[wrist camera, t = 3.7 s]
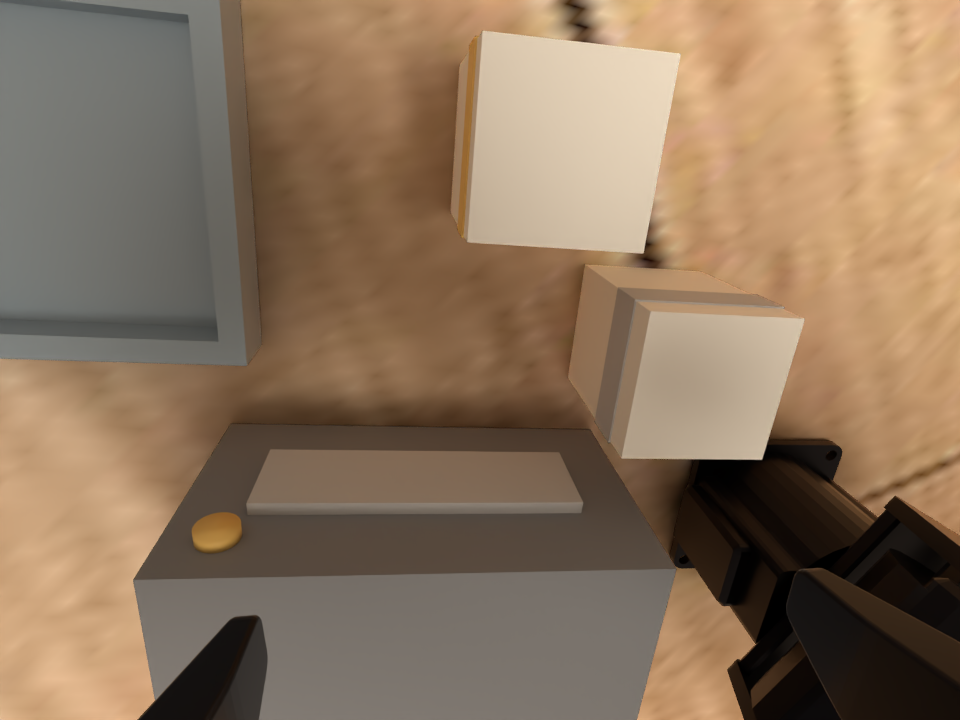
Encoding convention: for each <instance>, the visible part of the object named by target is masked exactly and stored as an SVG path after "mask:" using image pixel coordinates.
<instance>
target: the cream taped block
mask: <svg viewBox="0 0 960 720" xmlns="http://www.w3.org/2000/svg"><path fill="white" fill-rule="evenodd" d="M680 55H681V54H680V53H671V52H662V51H654V50H645V49H637V48H628V47H619V46H611V45H602V44H594V43H585V42H577V41H568V40H559V39H551V38H542V37H534V36H525V35H516V34H508V33H499V32H491V31H482V32H481V34H480V35H479V36H475V37H474V39H473V40H472V42H471V43H470V45H469V52H468V53H467V55H466V56H465V58H464V59H463V61H462V62H461V64H460V65H459V82H458V98H457V115H456V131H455V147H454V164H453V180H452V197H451V214H452V216H453V218H454V220H455V221H456V223H457V225H458V226H457V230H458V232H459V234H460V236H461V238H465V239H466V241H467V243H483V244H499V245H515V246H531V247H546V248H562V249H578V250H594V251H610V252H626V253H642V254H643V253H644V248H645V242H646V237H647V232H648V226H649V221H650V216H651V210H652V205H653V200H654V194H655V189H656V184H657V178H658V173H659V167H660V162H661V157H662V151H663V146H664V141H665V135H666V130H667V125H668V119H669V114H670V109H671V103H672V98H673V93H674V87H675V82H676V77H677V71H678V66H679V61H680Z"/></svg>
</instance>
